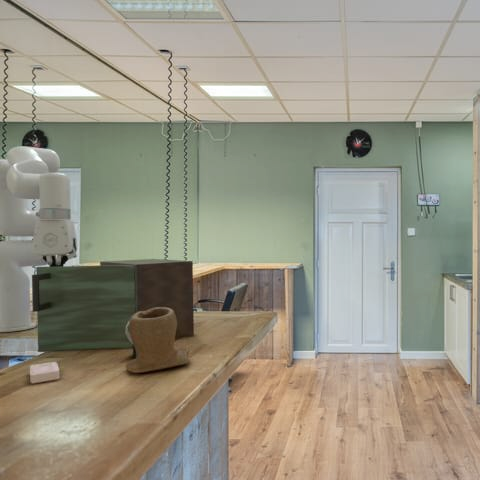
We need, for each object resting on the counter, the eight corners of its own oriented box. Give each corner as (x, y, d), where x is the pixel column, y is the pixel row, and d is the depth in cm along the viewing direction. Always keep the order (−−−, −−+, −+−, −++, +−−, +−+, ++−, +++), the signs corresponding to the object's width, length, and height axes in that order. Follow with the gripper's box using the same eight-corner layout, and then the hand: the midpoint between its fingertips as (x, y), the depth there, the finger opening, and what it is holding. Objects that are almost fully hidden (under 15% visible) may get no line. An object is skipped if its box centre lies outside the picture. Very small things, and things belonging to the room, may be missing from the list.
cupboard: (138, 346, 136) (136, 264, 135) (101, 335, 152) (99, 261, 152) (193, 335, 149) (192, 261, 149) (154, 326, 166) (153, 258, 166)
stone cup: (129, 381, 104) (128, 315, 103) (123, 368, 114) (122, 308, 113) (198, 369, 112) (197, 308, 112) (187, 358, 122) (186, 302, 122)
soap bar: (30, 384, 102) (30, 373, 102) (29, 374, 109) (29, 364, 109) (59, 380, 105) (59, 369, 105) (56, 370, 112) (56, 360, 112)
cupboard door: (125, 353, 128) (124, 266, 127) (23, 357, 125) (21, 268, 124) (136, 346, 135) (134, 265, 135) (40, 350, 132) (38, 266, 132)
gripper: (20, 215, 129) (21, 280, 130) (75, 215, 131) (76, 279, 131) (36, 216, 137) (37, 277, 137) (88, 216, 138) (90, 276, 138)
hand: (56, 278), depth 134 cm, fingers closed
